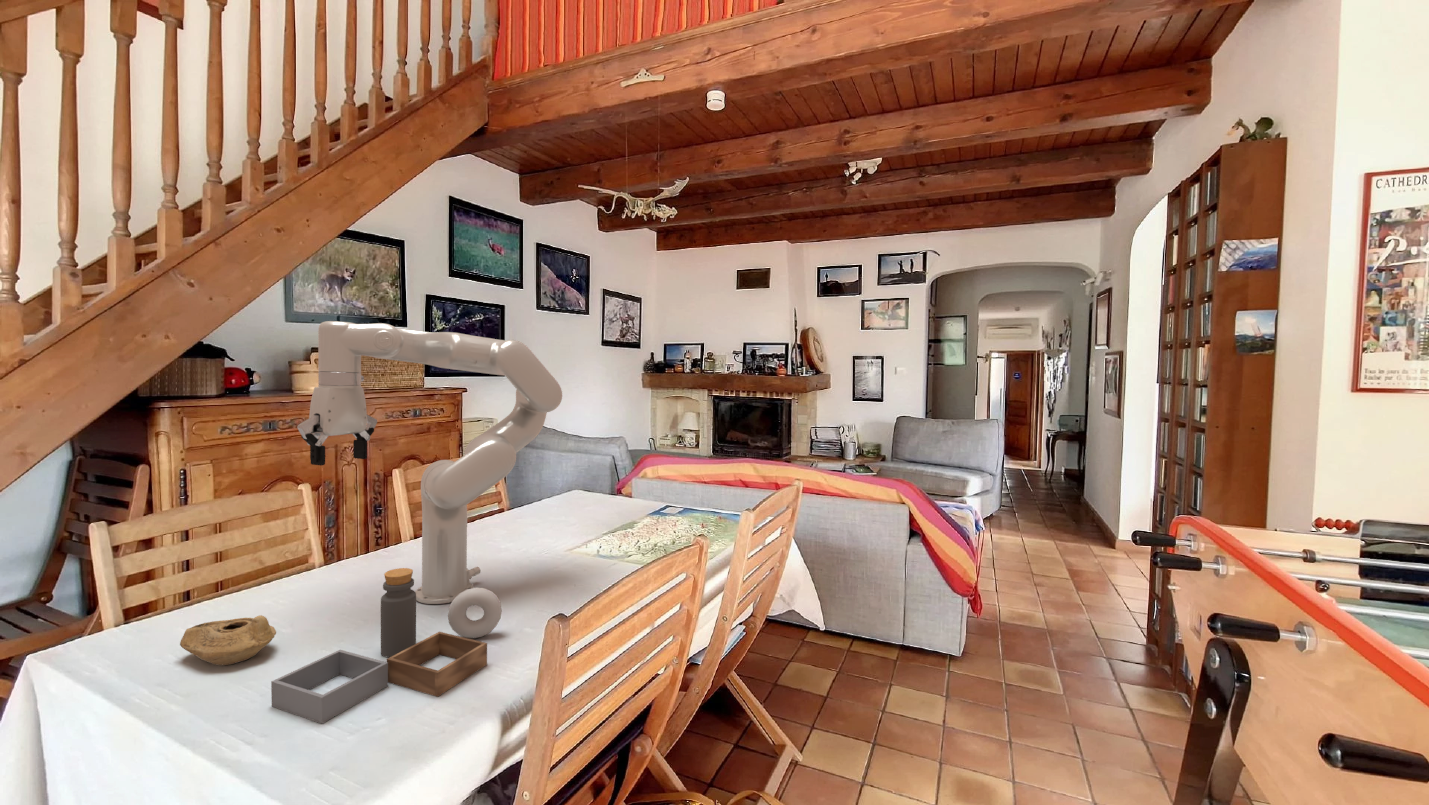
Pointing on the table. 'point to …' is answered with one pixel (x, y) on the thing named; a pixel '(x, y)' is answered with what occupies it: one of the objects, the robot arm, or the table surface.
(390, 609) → the bottle
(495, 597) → the donut
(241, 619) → the oil lamp
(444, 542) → the robot arm
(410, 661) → the walnut bin
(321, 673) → the grey bin
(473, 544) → the table surface
